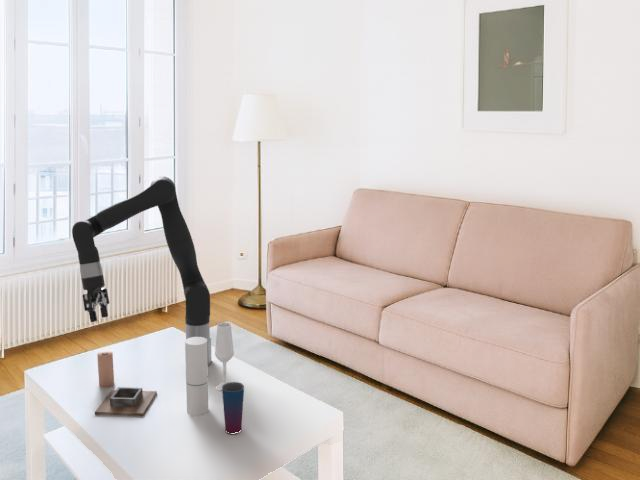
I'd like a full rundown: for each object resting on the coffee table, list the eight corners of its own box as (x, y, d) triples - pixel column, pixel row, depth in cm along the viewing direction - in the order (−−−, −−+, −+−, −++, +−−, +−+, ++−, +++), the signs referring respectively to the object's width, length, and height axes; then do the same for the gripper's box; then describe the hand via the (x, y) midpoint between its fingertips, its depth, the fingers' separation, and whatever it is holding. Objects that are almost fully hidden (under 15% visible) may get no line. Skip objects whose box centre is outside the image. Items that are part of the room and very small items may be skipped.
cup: (223, 425, 203) (222, 382, 200) (244, 424, 204) (244, 381, 200) (221, 436, 197) (221, 392, 193) (243, 435, 197) (243, 391, 194)
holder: (156, 393, 223) (156, 383, 222) (143, 416, 208) (142, 405, 207) (111, 392, 224) (111, 381, 223) (94, 414, 208) (94, 403, 207)
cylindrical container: (211, 406, 215) (209, 337, 210) (205, 416, 208) (203, 345, 203) (190, 404, 216) (188, 336, 210) (184, 415, 209) (182, 344, 204)
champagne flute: (216, 383, 233) (215, 321, 227) (234, 382, 233) (233, 321, 228) (215, 391, 226) (214, 328, 221) (233, 391, 227) (233, 328, 221)
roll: (116, 381, 232) (114, 350, 229) (111, 387, 227) (109, 356, 224) (102, 381, 232) (100, 350, 230) (97, 387, 227) (95, 356, 224)
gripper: (92, 276, 221) (100, 321, 222) (110, 271, 235) (118, 314, 236) (72, 279, 222) (80, 324, 223) (91, 274, 236) (99, 316, 237)
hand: (99, 319), depth 229 cm, fingers open, 8 cm apart
